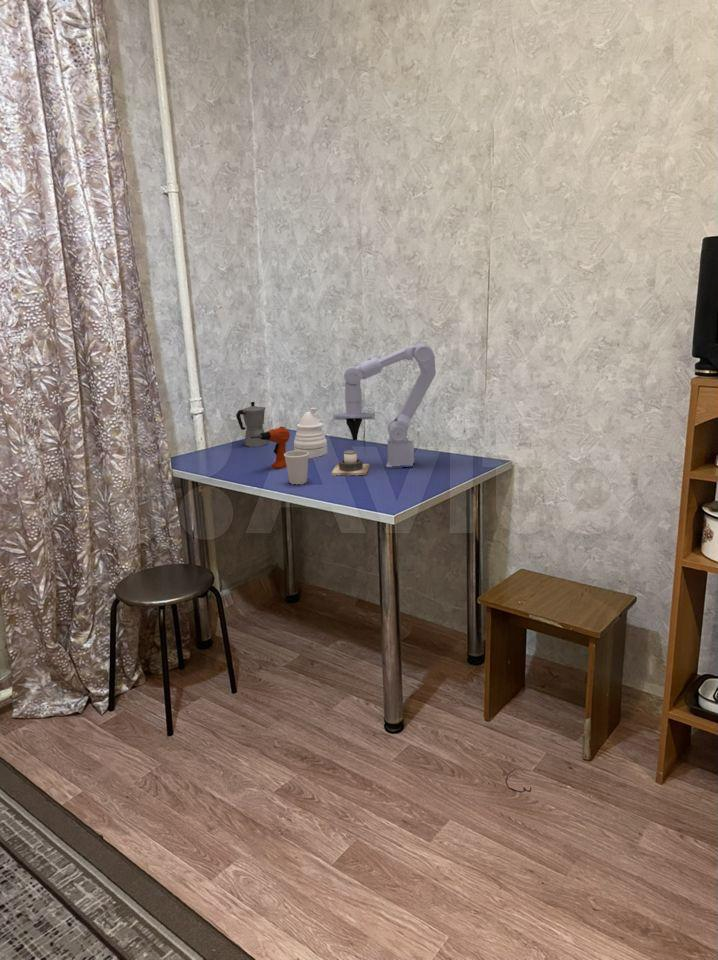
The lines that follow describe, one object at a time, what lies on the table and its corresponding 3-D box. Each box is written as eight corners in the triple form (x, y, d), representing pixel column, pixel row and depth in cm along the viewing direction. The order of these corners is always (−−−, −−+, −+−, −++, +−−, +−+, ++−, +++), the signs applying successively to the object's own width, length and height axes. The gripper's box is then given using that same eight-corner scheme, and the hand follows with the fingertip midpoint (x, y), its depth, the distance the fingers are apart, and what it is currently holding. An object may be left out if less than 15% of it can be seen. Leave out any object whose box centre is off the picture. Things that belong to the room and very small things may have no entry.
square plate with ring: (369, 466, 251) (369, 457, 250) (366, 475, 239) (365, 465, 238) (336, 466, 252) (336, 457, 251) (331, 475, 241) (331, 465, 240)
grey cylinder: (357, 466, 247) (357, 450, 246) (356, 469, 243) (356, 453, 241) (345, 466, 248) (344, 450, 246) (344, 470, 243) (343, 453, 242)
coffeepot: (260, 440, 299) (257, 398, 294) (275, 443, 293) (272, 400, 288) (232, 447, 288) (228, 404, 283) (246, 450, 282) (243, 406, 277)
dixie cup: (306, 486, 229) (304, 456, 227) (282, 485, 231) (280, 456, 229) (313, 479, 237) (312, 450, 234) (290, 478, 239) (288, 450, 236)
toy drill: (245, 470, 245) (246, 428, 243) (283, 465, 260) (284, 425, 257) (255, 472, 242) (255, 429, 240) (293, 467, 257) (294, 426, 254)
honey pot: (329, 450, 277) (327, 405, 272) (324, 458, 265) (322, 411, 260) (297, 450, 279) (295, 405, 274) (291, 458, 266) (288, 411, 261)
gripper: (331, 403, 242) (333, 442, 246) (373, 403, 240) (374, 441, 244) (334, 400, 249) (336, 437, 252) (375, 399, 247) (376, 437, 251)
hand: (355, 439), depth 249 cm, fingers closed
